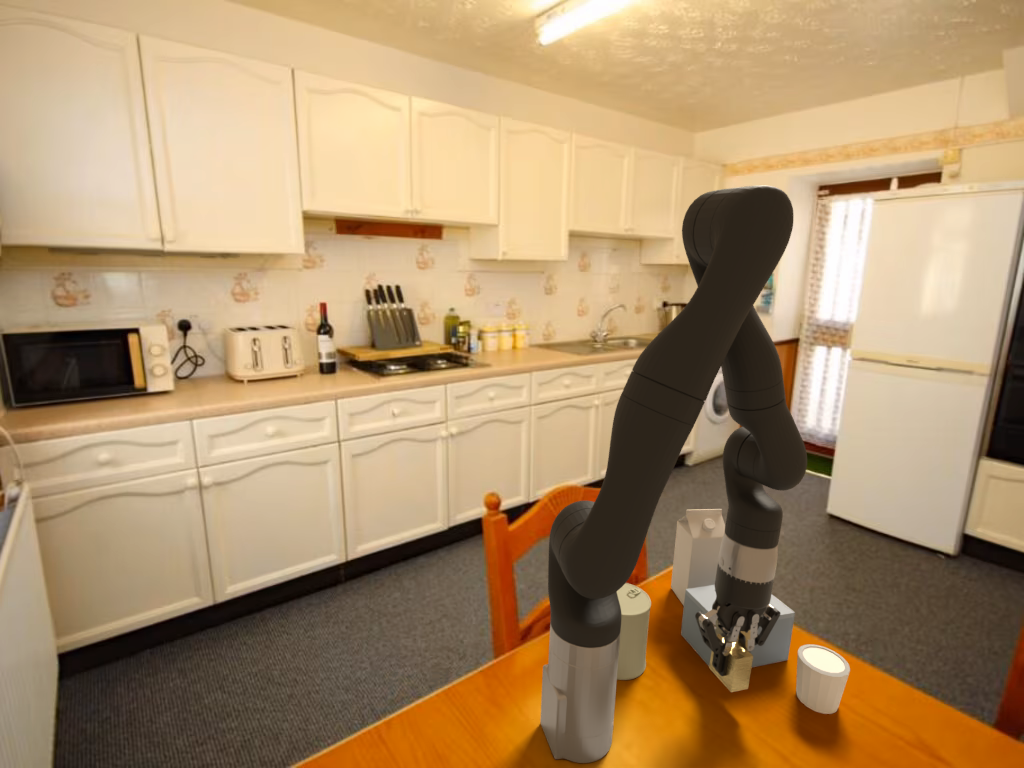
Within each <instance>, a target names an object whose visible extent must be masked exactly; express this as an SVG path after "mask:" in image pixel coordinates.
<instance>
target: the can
mask: <svg viewBox="0 0 1024 768" xmlns="http://www.w3.org/2000/svg"><path fill="white" fill-rule="evenodd" d="M617 596H618V600H619V603H620V607H621V615H622V617H621V633H620V645H619V657H618V670H617V680H621V681H629V680H633V679H634V680H635V678H636V679H637V678H639V677H640V676H641V675H642V674H643V673H644V671H645V670H646V667H647V661H646V660H647V659H646V656H647V643H648V634H649V632H648V631H649V622H650V612H651V608H652V607H651V606H652V601H651V598H650V596H649V594H648V593H647V592H646V591H644V590H643V589H642V588H641V587H638V586H637V585H634V584H631V583H629V582H626V583H625V584H624V585H623V586H622V587H621V588H620V589H619V590H618V591H617Z"/></svg>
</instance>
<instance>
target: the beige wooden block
mask: <svg viewBox="0 0 1024 768" xmlns="http://www.w3.org/2000/svg"><path fill="white" fill-rule="evenodd" d="M722 642H723V643H724V638H723V640H722ZM713 654H714V652H713V651H711V658H710V665H709V666H708V668H709V669H710V671H711V672H712V673H713V674H714V675H715V677H716V678H718V680H719V681H720V682H721V683H722V684H723V685H724V686H725V687H726V689H728V691H729V692H730V693H734V692H739V691H743V690H748V689H749V684H750V679H751V674H752V668H753V667H752V661H753V655H752V654H751V653H750V652H749V651H748V650H747V649H746V648H744V647H743V646H742V645H741V644H740V643H739V642H738V641H736V642H733V645H732V648H731V651H730V654H729V660H728V666H727V673H726V676H721V675H720V674H719V673H718V672H717V671H716V670H715V668H714V667H713V665H712V661H713ZM751 667H752V668H751Z"/></svg>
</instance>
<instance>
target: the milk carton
mask: <svg viewBox="0 0 1024 768" xmlns="http://www.w3.org/2000/svg"><path fill="white" fill-rule="evenodd" d="M722 513H723V508H712V509H711V508H707V509H706V508H705V509H704V508H702V509H701V508H699V509H686V511H685V515H684V516H682V517H681V518H679V519H678V520H677V521H676V532H675V541H674V545H675V546H674V552H673V562H672V571H671V574H672V575H671V584H670V589H671V590H672V591H673V593H674V595H676V597H677V598H678V600H679V601H680V603H681V604H682V605H683V607H684V600H685V591H686V589H690V588H697V587H703V586H710V585H715V579H716V572H717V565H718V559H719V552H720V546H721V542H722V539H723V535H724V531H725V524H726V522H725V521H724V517H723V515H722Z"/></svg>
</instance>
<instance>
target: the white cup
mask: <svg viewBox="0 0 1024 768" xmlns="http://www.w3.org/2000/svg"><path fill="white" fill-rule="evenodd" d="M850 672H851V668H850V664H849V663H848V661H847V660H846V659H845V658H844V657H843V656H842V655H841V654H839V653H837V651H834V650H832V649H830V648H828V647H826V646H823V645H819V644H809V643H808V644H803V645H800V646H799V648H798V650H797V664H796V683H795V684H796V686H795V687H796V688H795V691H796V692H795V693H796V697H797V698H798V700H799V701H800V703H801V704H804V706H805V707H807V708H808V709H810V710H812V711H814V712H816V713H819V714H822V715H823V714H824V715H827V714H829V715H832V714H834V713H836V712H837V711H838V710H839V708H840V703H841V700H842V697H843V694H844V691H845V689H846V685H847V681H848V679H849V675H850Z"/></svg>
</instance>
